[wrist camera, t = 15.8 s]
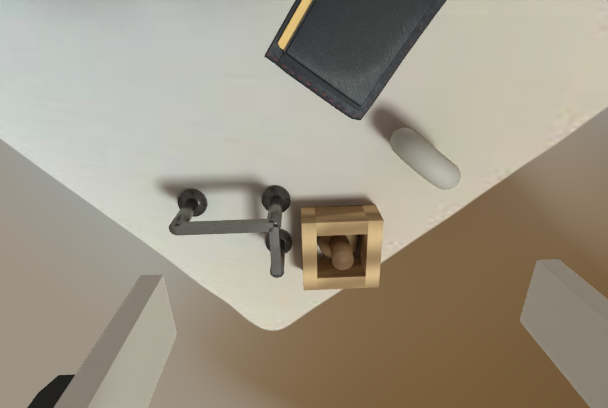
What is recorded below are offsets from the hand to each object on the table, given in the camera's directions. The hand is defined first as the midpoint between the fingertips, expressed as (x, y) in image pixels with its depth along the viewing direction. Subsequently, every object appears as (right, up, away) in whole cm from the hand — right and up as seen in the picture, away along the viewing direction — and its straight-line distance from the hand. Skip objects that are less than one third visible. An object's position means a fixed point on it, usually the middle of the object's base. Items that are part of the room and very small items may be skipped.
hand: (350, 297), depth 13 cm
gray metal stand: (-12, +1, +40) cm, 41 cm away
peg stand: (+4, -2, +41) cm, 42 cm away
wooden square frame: (+3, -2, +41) cm, 42 cm away
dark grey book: (+5, +26, +30) cm, 40 cm away
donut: (+13, +11, +36) cm, 40 cm away
